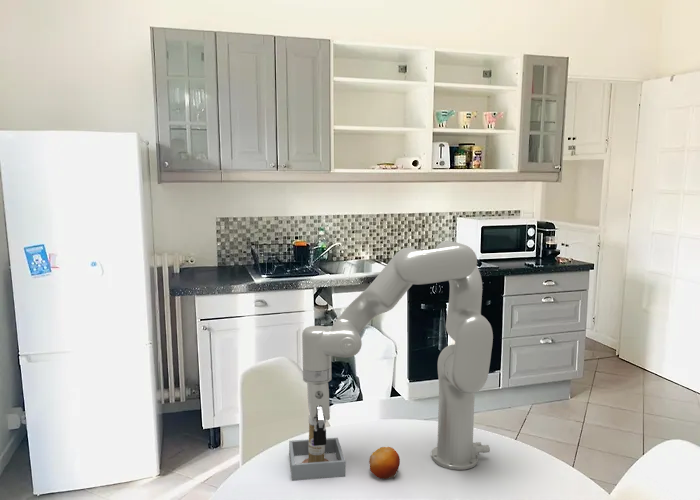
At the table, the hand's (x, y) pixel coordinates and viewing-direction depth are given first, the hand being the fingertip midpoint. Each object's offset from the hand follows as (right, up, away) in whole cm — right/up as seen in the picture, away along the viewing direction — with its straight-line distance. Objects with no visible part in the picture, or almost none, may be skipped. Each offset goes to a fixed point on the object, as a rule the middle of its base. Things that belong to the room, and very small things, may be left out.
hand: (317, 436), depth 139 cm
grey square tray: (-1, -8, +1) cm, 8 cm away
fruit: (+17, -9, -3) cm, 20 cm away
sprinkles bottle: (0, -8, +1) cm, 8 cm away
